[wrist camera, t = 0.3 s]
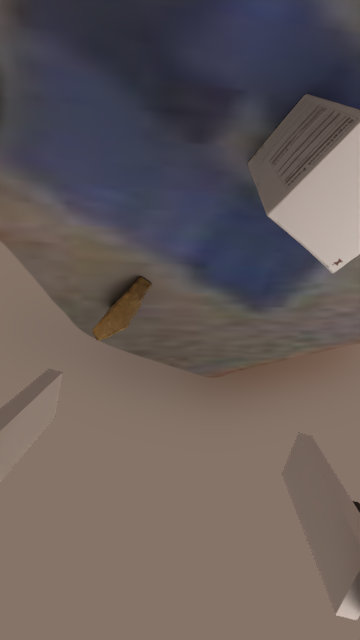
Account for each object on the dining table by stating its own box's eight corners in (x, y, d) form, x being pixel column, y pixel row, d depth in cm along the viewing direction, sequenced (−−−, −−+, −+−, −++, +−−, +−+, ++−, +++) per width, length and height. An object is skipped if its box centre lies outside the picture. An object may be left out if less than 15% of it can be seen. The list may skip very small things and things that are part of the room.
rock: (136, 266, 45) (81, 291, 48) (151, 317, 43) (93, 341, 45) (161, 287, 56) (115, 307, 58) (174, 329, 53) (126, 348, 55)
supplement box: (356, 150, 36) (441, 199, 23) (294, 210, 41) (335, 278, 28) (305, 89, 32) (370, 108, 20) (244, 163, 37) (264, 216, 25)
